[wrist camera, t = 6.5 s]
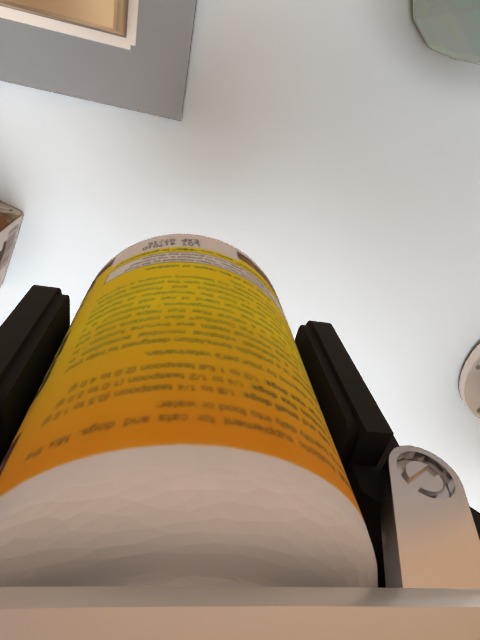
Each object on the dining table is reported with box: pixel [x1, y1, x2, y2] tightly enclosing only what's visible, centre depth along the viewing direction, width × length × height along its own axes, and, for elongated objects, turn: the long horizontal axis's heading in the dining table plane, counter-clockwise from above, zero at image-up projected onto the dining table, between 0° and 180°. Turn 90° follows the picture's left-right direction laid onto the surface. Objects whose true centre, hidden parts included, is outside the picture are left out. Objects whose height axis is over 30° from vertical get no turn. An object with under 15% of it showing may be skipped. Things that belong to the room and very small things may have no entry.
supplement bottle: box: [0, 234, 378, 588], centre depth 8 cm, size 6×6×10 cm
